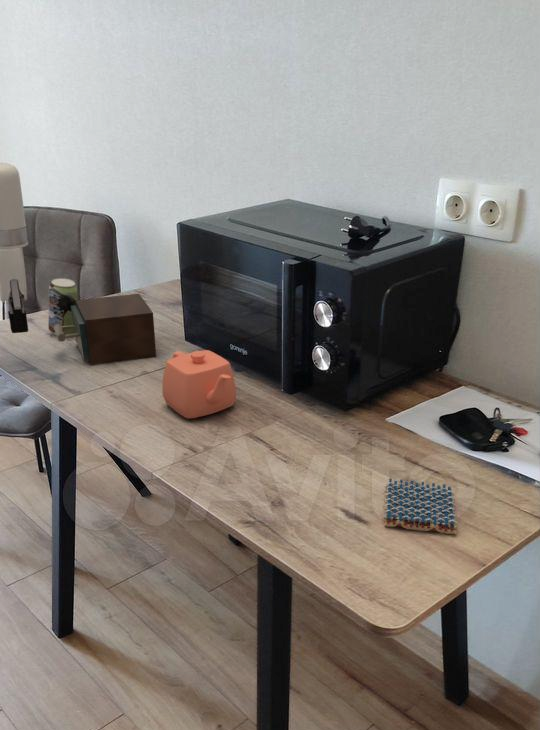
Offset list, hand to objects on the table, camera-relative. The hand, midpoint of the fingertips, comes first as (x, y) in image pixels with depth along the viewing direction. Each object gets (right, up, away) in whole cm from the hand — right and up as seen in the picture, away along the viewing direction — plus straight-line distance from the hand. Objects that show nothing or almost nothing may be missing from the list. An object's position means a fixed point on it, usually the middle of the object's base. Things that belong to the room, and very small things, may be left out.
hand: (19, 331), depth 140 cm
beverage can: (+4, +3, +18) cm, 19 cm away
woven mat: (+72, -34, -37) cm, 88 cm away
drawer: (+14, -2, +9) cm, 16 cm away
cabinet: (+17, -2, +11) cm, 20 cm away
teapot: (+37, -17, -11) cm, 42 cm away
